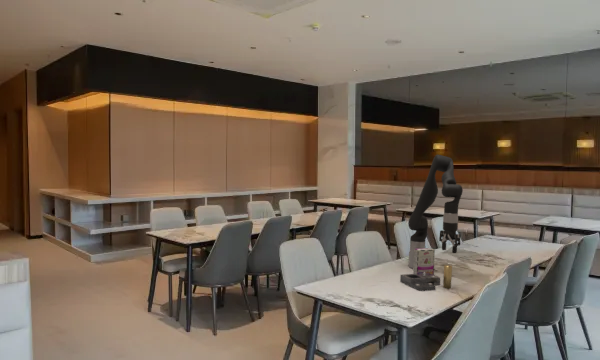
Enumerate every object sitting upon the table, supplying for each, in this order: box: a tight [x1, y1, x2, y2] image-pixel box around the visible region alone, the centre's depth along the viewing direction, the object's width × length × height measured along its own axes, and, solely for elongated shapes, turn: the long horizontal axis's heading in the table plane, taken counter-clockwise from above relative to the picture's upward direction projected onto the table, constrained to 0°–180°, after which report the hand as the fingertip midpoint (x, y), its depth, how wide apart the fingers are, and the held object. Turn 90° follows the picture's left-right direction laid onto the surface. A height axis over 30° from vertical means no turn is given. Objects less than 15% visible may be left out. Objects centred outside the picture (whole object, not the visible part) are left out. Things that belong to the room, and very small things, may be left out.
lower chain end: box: [399, 277, 436, 292], centre depth 240 cm, size 18×10×3 cm, turn 20°
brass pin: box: [442, 264, 453, 290], centre depth 238 cm, size 4×4×12 cm
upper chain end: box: [399, 272, 441, 286], centre depth 246 cm, size 10×19×5 cm, turn 110°
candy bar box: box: [412, 247, 436, 275], centre depth 260 cm, size 11×5×16 cm, turn 105°
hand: (449, 251), depth 238 cm, fingers open, 8 cm apart
